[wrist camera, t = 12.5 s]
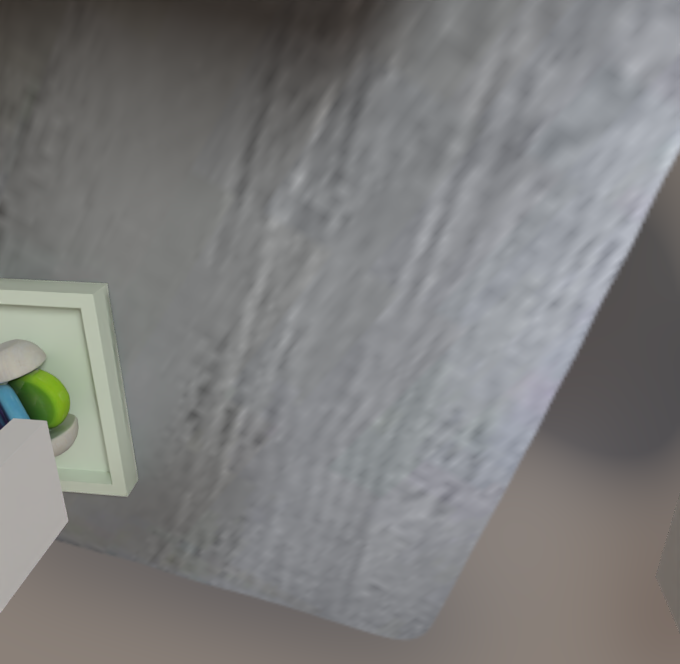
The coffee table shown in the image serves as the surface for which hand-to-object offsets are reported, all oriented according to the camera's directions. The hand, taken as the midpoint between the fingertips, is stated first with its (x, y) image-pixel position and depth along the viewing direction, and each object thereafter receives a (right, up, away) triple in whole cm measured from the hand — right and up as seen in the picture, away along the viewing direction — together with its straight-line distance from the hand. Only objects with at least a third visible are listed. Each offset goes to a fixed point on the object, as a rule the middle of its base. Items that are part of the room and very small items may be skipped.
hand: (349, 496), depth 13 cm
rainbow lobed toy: (-23, -1, +32) cm, 40 cm away
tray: (-23, 0, +33) cm, 40 cm away
